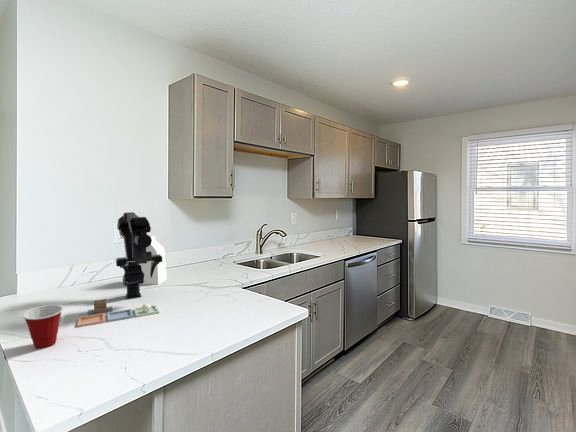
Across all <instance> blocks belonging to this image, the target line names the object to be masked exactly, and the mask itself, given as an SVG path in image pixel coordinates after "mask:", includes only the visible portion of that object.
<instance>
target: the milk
mask: <svg viewBox="0 0 576 432" xmlns="http://www.w3.org/2000/svg"><path fill="white" fill-rule="evenodd" d="M150 237H151V239H152V243H151V245H150V246H148V247H146V252H152V255H157V254H160V255H161V256H162V262H159V264H157V265H156V267H155V269H154V272H153V275H152V278H151V276H150V271H151V261H147V263H146V264H144V263H142V264H139V265H141V269H142V271H143V273H144V282H143V283H141V284H140V285H160V284H162V283H163V282H164V281H166V280H167V279H168V276H167V265H166V263H167V262H166V254H165V253H166V252H165V250H166V249H165V248H164V246H163V245H162V244H160V242H158V241H157V240H156V235H152V236H150Z"/></svg>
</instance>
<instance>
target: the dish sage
mask: <svg viewBox="0 0 576 432" xmlns="http://www.w3.org/2000/svg"><path fill="white" fill-rule="evenodd" d="M150 306H151V309H150V310H149V311H148V312H144V311H143V310H142V306H141V307H134V308H133V311H134V315H135V318H141V317H146V316H150V315H157V314H160V310H159V308H158V306H157V304H154V305H150Z"/></svg>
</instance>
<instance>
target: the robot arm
mask: <svg viewBox="0 0 576 432" xmlns="http://www.w3.org/2000/svg"><path fill="white" fill-rule="evenodd" d="M116 225H117V226H116V227H117V228H116V229H117V230H118V232H119V233H118V234H119V235H120V236H121V237H122V238H123V243H124V251H125V257H117V258H116V259H115V262H116V263H115V265H116V267H119V268H120V269H123V271H124V272H123V276H122V285H123V286H124V287H126V294H125V298H126V299H134V298H139V297H140V298H141V297H142V295H141V292H140V286H141V285H142V284H141V283H143V282H144V273H143V271H142V269H141V265H139V264H142V263H144V264H146V263H147V261H151V271H150V276H151V278H152V275H153V272H154V269H155V267H156V265H157V264H159V262H162V256H161V255H160V254H157V255H152V252H146V247H148V246H150V245H151V243H152V239H151V237H152V236H150V235H149V234H147V233H151V230H152V227H151V223H150V222H149V219H148V218H147V217H146V216H139V215H137V214H136V213H135V212H133V211H132V212H131V211H130V212H124V213H123V214H122V216H121V217H119V218H118V220H117V224H116Z"/></svg>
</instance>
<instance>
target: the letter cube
mask: <svg viewBox="0 0 576 432" xmlns="http://www.w3.org/2000/svg"><path fill="white" fill-rule="evenodd" d="M107 307H108V306H107V298H103V299H96V300H95V299H94V301H93V309H94V314H99V313H105V312H107Z"/></svg>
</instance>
